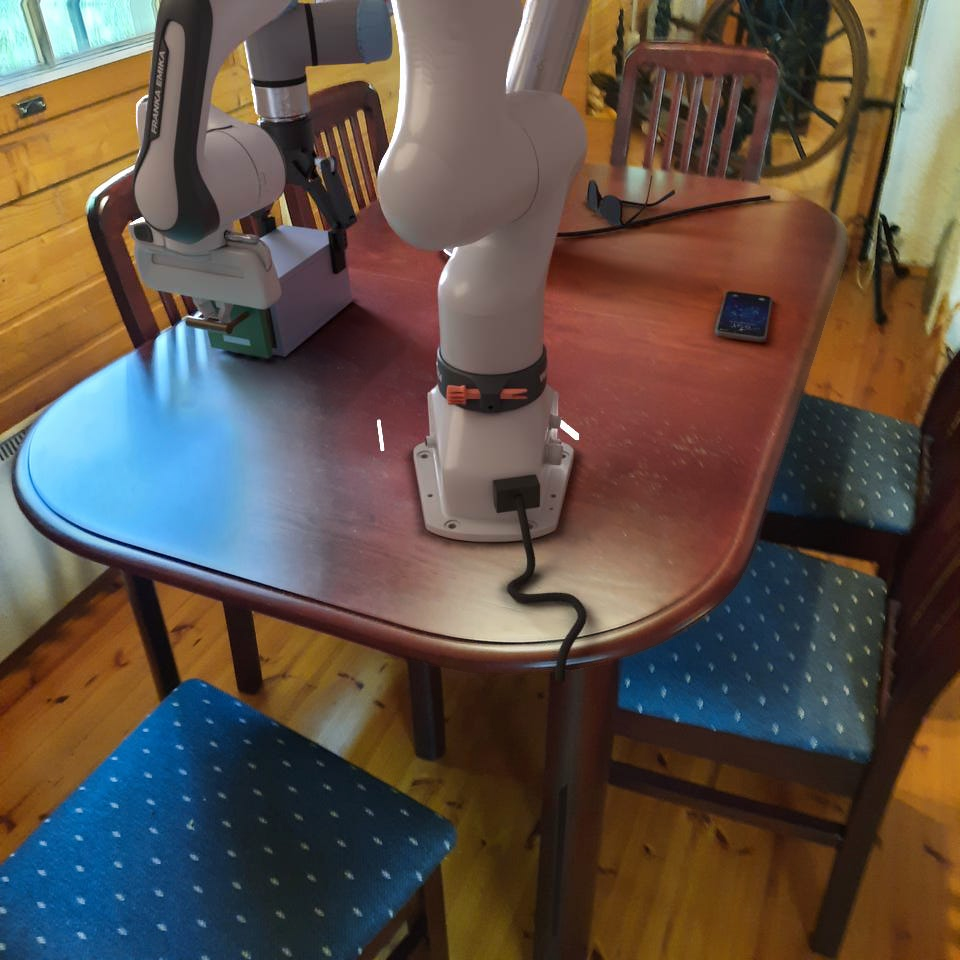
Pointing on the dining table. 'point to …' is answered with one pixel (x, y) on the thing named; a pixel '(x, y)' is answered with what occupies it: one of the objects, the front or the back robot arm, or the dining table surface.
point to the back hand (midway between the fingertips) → (306, 265)
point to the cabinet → (304, 285)
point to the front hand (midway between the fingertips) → (219, 326)
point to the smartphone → (744, 316)
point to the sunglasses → (615, 204)
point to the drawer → (239, 330)
